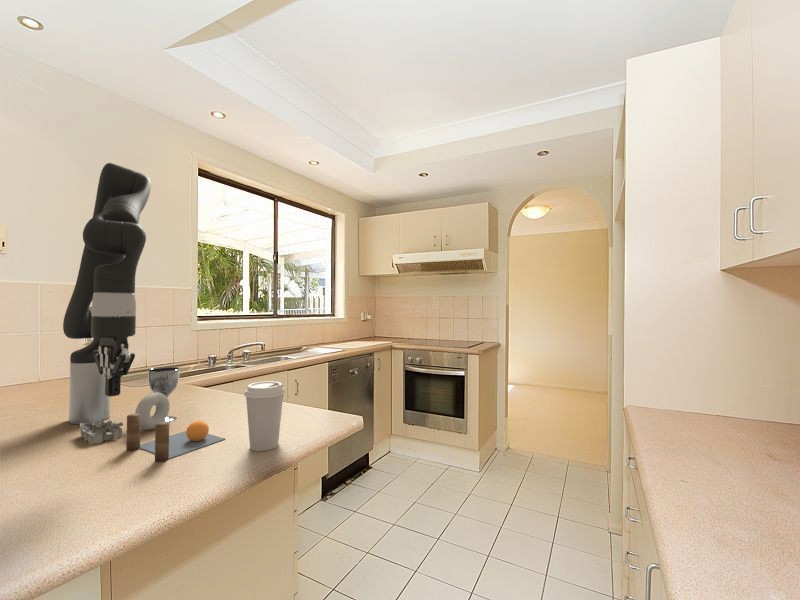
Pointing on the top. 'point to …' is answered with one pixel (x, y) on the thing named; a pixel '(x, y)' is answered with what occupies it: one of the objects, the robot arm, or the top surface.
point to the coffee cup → (264, 414)
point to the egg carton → (100, 431)
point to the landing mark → (182, 444)
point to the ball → (197, 430)
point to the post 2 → (161, 441)
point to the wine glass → (164, 382)
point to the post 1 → (133, 432)
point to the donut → (145, 408)
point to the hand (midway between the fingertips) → (112, 395)
